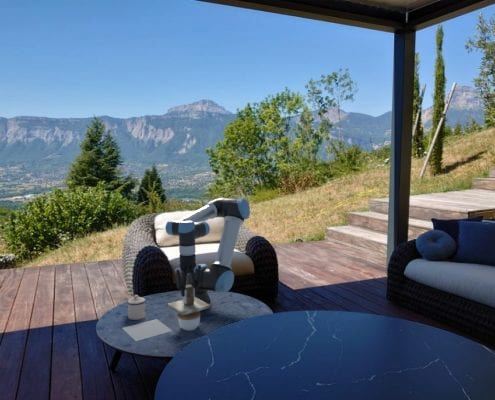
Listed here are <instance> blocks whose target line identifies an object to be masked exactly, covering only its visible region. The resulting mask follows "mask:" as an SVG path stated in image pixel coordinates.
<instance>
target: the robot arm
mask: <svg viewBox="0 0 495 400" xmlns="http://www.w3.org/2000/svg"><path fill="white" fill-rule="evenodd" d="M248 201H249V200H247V199H245V198H240V197H237V198H236V197H235V198H234V197H219V198H216V199H213V200H210V201H208V202H206V203H205V204H204V205H203V206H202V207H200V208H199V209H198V208H197V210H195V211H192V212H191V213H188V214H187V215H185V216H183V217H181V218H179V219H177V220H174V219H173V220H169V221H167V222H166V224H165V233H166V234H167V235H169V236H173V237H174V236H175V237H178V241H179V243H178V246H179V248H178V249H179V250H178V251H179V267H177V268H174V269H173V271H174V273H175V281H176V289H177V290H180V296H181V297H182V300H183V302H184V303H185V304H186V303H187V290H186V289H185V286H186V285H192V286H193V288H194V301H195V297H196V298H198V299H200V300H202V301H203V302H205V303H207V304H209V305H211V306H212V301H211V298H210V295H209V292H208V291H210V292H211V291H212V292H216V293H227V292H229V291H230V290H231V288H232V287H233V285H234V281H235V274H234V272H233V268H232V266H231V263H232V259H233V256H234V250H235V247H236V243H237V239H238V235H239V232H240V228H241V225H243V224H244V222H245V220H247V219H249V217H250V214H251V207H250V203H249V202H248ZM215 218H223V220H224V226H223V229H222V233H221V237H220V241H219V245H218V249H217V253H216V256H215V259H214V262H212V263H211V265H210V268H209V267H208V265H207V264H206V263H198V264H197V262H196V260H197V258H196V239H200V238H204V237H205V236H208V235H209V233H210V231H211V227H210V225H209V223H208V222H207V221H208V220H213V219H215ZM205 310H207V309H204V310H203V311H205ZM199 312H202V310H200V311H199Z"/></svg>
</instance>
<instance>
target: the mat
mask: <svg viewBox="0 0 495 400" xmlns="http://www.w3.org/2000/svg"><path fill="white" fill-rule="evenodd" d="M121 328H122V330H123V331H124V332H125V333H126V334H128V336H129V337H131V339H133V340H134V341H135V342H138V341H142V340H145V339H149V338H153V337H156V336H159V335H163V334H166V333H169V332H172V331H173V330H172V329H171V328H170V327H168V326H166V325H165V324H164V323H163V322H162V321H161V320H159V319H157V318H155V319H153V320H152V319H151V320H148V321H144V322H140V323H136V324H134V325H133V324H132V325H129V326H124V327H121Z"/></svg>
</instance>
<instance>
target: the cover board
mask: <svg viewBox="0 0 495 400" xmlns="http://www.w3.org/2000/svg"><path fill="white" fill-rule="evenodd" d="M185 289H186V290H187V303H186V304H185V303H184V302H183V299H181V300H176V301H172V302H169V303H167V307H168V308H170V309H172V311H175V312H176V313H177V314H178V313H179V314H181V315H185V314H189V313H193V312H197V311H199V312H201V311H205V310H204V309H206V310H208V309H211V308H212V304H211V305H209V304H207V303H205V302H203V301H202V300H200V299H198V298H196V297H195V301H194V288H193V286H192V285H185ZM200 310H201V311H200Z"/></svg>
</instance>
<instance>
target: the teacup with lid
mask: <svg viewBox="0 0 495 400" xmlns="http://www.w3.org/2000/svg"><path fill="white" fill-rule="evenodd" d="M126 303H127V305H126V306H127V313H128V315H127V317H128V319H129V320H133V321H134V320H136V321H137V320H142V319H144V318H146V314H147V313H146V298H144V297H141V296H139V295H138V294H134V297H132V298H129V299H128V300H127V302H126Z"/></svg>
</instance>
